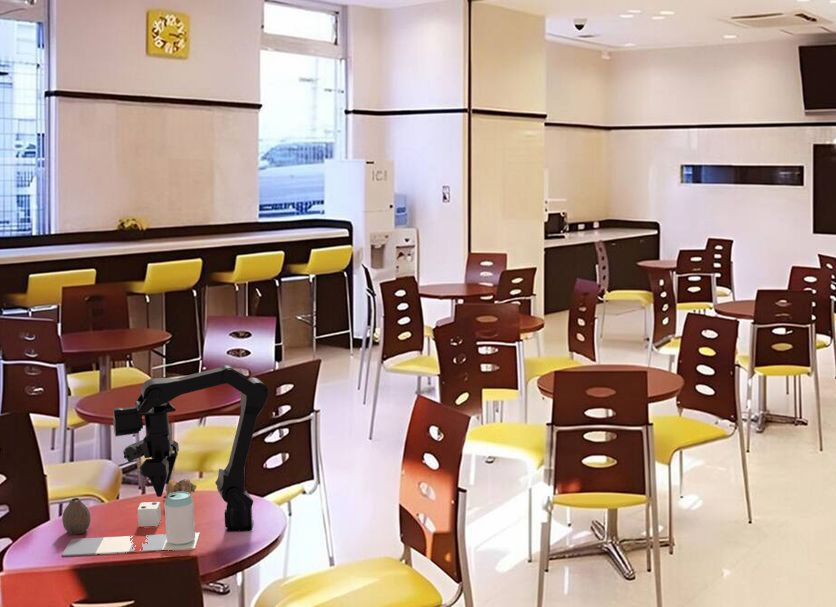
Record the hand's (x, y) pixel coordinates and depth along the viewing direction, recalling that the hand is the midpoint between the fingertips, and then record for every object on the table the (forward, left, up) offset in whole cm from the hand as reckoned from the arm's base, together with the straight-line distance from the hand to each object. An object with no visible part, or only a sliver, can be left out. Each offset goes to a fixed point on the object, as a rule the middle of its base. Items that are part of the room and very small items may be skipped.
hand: (162, 490), depth 259 cm
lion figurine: (0, -24, -13) cm, 27 cm away
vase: (+24, -8, -13) cm, 29 cm away
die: (+6, -11, -13) cm, 18 cm away
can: (-4, +3, -13) cm, 14 cm away
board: (+8, +3, -13) cm, 15 cm away
